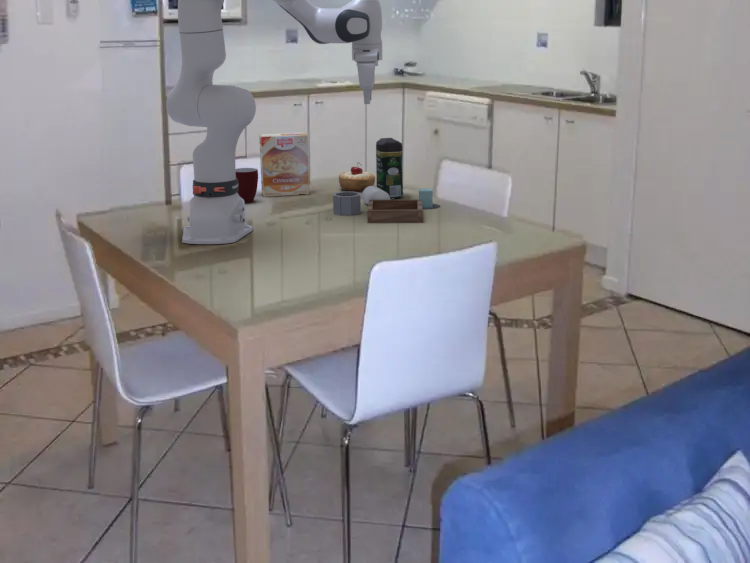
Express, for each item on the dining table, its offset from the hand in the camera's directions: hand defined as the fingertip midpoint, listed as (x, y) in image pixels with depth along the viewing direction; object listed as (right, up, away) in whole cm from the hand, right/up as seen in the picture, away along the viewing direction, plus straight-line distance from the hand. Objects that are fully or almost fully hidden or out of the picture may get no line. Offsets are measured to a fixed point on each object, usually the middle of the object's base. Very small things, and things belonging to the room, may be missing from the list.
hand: (367, 102), depth 270 cm
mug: (-39, -28, +18) cm, 51 cm away
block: (+17, -30, +4) cm, 35 cm away
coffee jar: (+7, -26, +22) cm, 35 cm away
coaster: (+17, -31, +4) cm, 36 cm away
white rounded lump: (+4, -30, +7) cm, 31 cm away
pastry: (-4, -23, +35) cm, 41 cm away
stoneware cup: (-6, -33, -2) cm, 34 cm away
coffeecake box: (-27, -24, +29) cm, 47 cm away
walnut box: (+8, -35, -9) cm, 37 cm away
